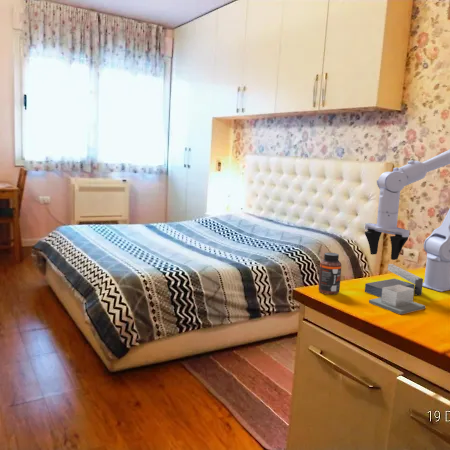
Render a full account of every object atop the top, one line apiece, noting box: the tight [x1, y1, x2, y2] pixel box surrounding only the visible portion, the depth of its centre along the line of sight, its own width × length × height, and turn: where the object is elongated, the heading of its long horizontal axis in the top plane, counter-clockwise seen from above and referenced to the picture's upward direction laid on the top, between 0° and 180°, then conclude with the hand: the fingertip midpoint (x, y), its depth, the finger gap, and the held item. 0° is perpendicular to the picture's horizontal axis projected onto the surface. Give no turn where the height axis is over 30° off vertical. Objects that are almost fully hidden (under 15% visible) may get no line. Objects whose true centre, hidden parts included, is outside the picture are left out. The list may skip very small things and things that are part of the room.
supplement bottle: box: [318, 252, 342, 295], centre depth 127 cm, size 6×6×11 cm
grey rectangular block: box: [380, 285, 415, 307], centre depth 117 cm, size 7×4×4 cm, turn 122°
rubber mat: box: [368, 297, 426, 315], centre depth 118 cm, size 10×10×1 cm
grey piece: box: [364, 278, 415, 298], centre depth 130 cm, size 13×7×2 cm, turn 122°
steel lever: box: [387, 263, 424, 296], centre depth 136 cm, size 2×18×5 cm, turn 7°
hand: (383, 256), depth 134 cm, fingers open, 7 cm apart
